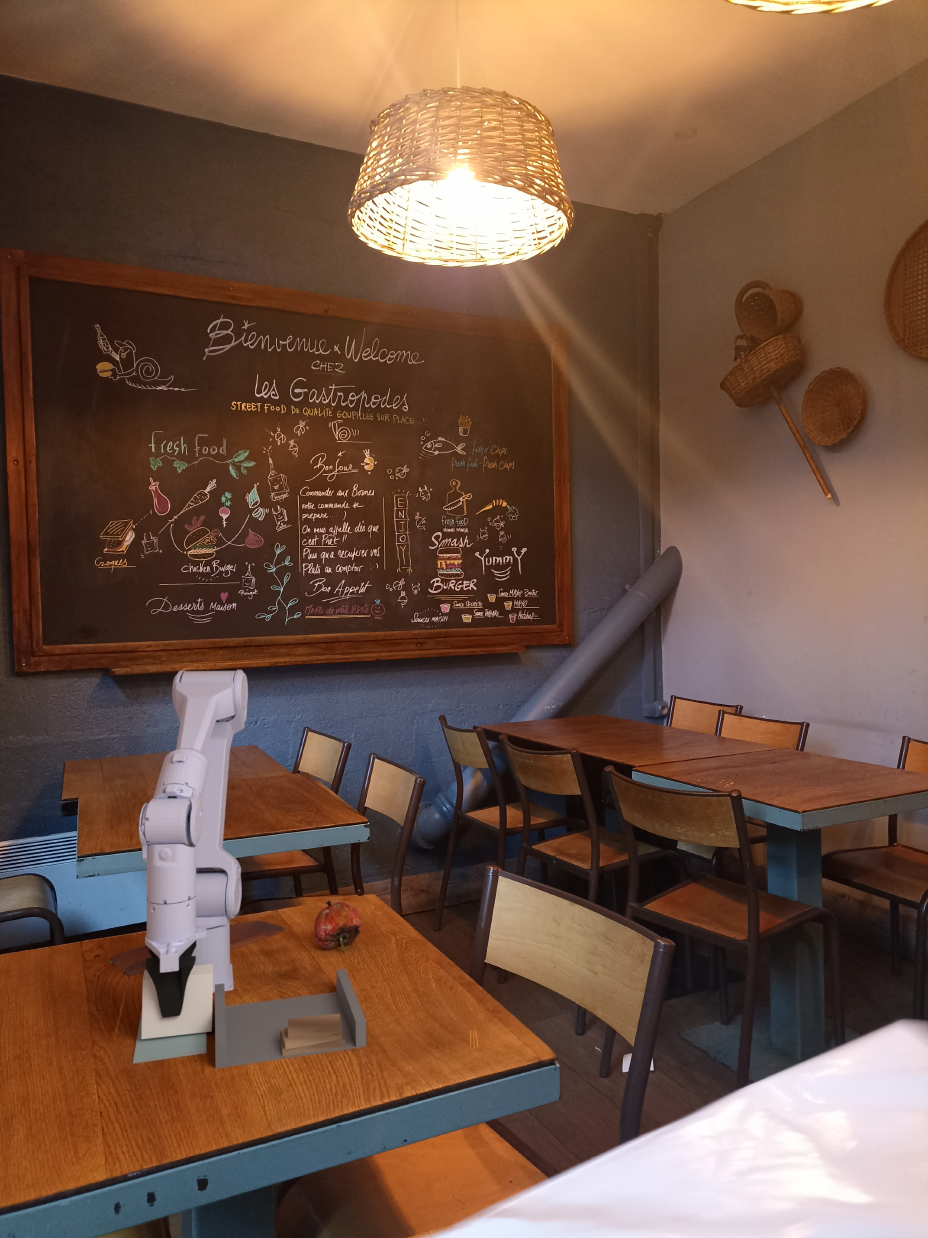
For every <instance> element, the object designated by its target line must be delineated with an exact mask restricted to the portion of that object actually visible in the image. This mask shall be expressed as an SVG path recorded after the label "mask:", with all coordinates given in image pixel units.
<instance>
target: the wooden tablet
mask: <svg viewBox="0 0 928 1238" xmlns="http://www.w3.org/2000/svg"><path fill="white" fill-rule="evenodd" d="M285 930H286V928H285V927H284V926H282V925H278V924H275V923H270V922H268V921H266V920H249V921H244V922H238V923H234V924H230V951H231V950H235V949H236V948H240V947H243V946H246V945H249V944H252V943H255V942H257V941H261V940H263V939H265V938H270V937H272V936H274V935H277V934H279V933H281V932H283V931H285ZM148 950H149V947H148V946H147V945H146V944H145V945H141V946H139V947H136V948H133V949H129V950H125V951H123V952H120V953H117V954H115V955H112V956H111V957H110V959H109V963H110V964H111V965H113V966H116V967H118V968H119V967H121V968H123V969H122V972H123V973H124V974H125V975H126V976H128V977H131V976H138V975H144V971H145V970H146V959H147V958H152V957H151V955H150V953H149V951H148Z"/></svg>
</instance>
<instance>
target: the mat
mask: <svg viewBox="0 0 928 1238" xmlns="http://www.w3.org/2000/svg"><path fill="white" fill-rule="evenodd" d="M138 1025H139V1026H138V1030H137V1031H138V1032H137V1035H136V1042H135V1048H134V1053H133V1058H132V1064H139V1063H140V1064H141V1063H145V1062H152V1061H160V1060H168V1059H175V1058H180V1057H181V1058H182V1057H188V1056H196V1055H201V1054H207V1039H208V1037H207V1036H208V1035H207V1033H208V1032H202V1033H193V1034H184V1035H175V1036H166V1037H157V1038H148V1039H141V1037H142V1015H141V1016H140V1019H139V1024H138Z"/></svg>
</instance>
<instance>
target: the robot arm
mask: <svg viewBox="0 0 928 1238" xmlns="http://www.w3.org/2000/svg"><path fill="white" fill-rule="evenodd" d="M248 686H249V685H248V678H247V675H246V673H245V672H244V671H243V670H242V669H237V670H206V671H204V670H203V671H202V670H200V671H199V670H197V671H196V670H193V671H192V670H190V671H186V670H184V669H183V670H179V671H177V674H176V675H175V676H174V678H173V681H172V688H171V689H172V690H171V691H172V692H171V695H172V696H171V697H172V704H173V708H174V709H175V711H176V715H177V717H178V720H179V727H178V735H177V741H176V747H175V749H174V750H172V751H170V752H169V753H167V755H165V757H164V759H163V763H162V765H161V770H160V773H159V777H158V781H157V783H156V787H155V790H154V794H153V797H152V798H151V799H150V800H149V802H144V804H143V805H142V808H141V811H140V814H139V822H138V835H139V841H140V844H141V852H142V853H141V854H142V861H143V862H144V863H146V934H145V935H144V936H145V937H144V943H145V946H146V945H147V946H148V947H149V950H148V951H149V953H150V955H151V957H152V958H147V959H146V970H147V972H148V974H149V975H150V977H151V979H152V981H153V983H154V986H155V989H156V992H157V997H158V1002H159V1007H160V1012H161V1015H162V1018H167V1017H174V1016H180V1015H181V1011H182V1007H183V1002H184V995H185V989H186V984H187V981H188V978H189V975H190V973H191V971H192V969H193V967H194V966H198V965H209V964H213V994H215V984H223V983H224V989H225V992H229V991H232V990H234V988H235V987H234V977H233V975H234V974H233V964H232V963H231V956H230V955H231V950H230V925H231V924H230V923H231V922H230V920H231V919H234V918H235V917H236V916H237V915H238V914H239V912H240V907H241V902H242V892H243V891H242V890H243V889H242V876H241V875H242V874H241V873H242V867H241V865H240V863H239V860H238V859H236V857H234V856H233V855H232V854H231V853H229V852H228V851H226V850H225V849H224V847H223V846H224V835H225V833H224V832H225V819H226V807H227V806H226V805H227V793H228V779H229V768H230V767H229V765H230V753H231V752H230V751H231V748H232V743H233V737H234V735H235V734H237V733H239V732H240V731H242V730H244V728H245V723H246V722H247V716H248V715H247V714H248V702H249V701H248V700H249V691H248V690H249V687H248ZM206 871H207V872H206ZM208 871H209V872H208ZM210 871H211V872H210ZM212 871H213V872H212ZM214 871H219V872H214ZM220 871H225V872H220ZM198 872H199V873H198Z"/></svg>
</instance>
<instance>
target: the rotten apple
mask: <svg viewBox="0 0 928 1238" xmlns="http://www.w3.org/2000/svg"><path fill="white" fill-rule="evenodd" d="M325 904H326V905H327V906H325V907H324V908H322V909H321V910H320V911H319V912H318V913H317V916H316V917H315V920H314V927H313V929H314V938H315V941H316V943H317V944H318V945H320V946H321V947H322V948H323V949H324V950H332V949H335V948H338V946H339V947H341V948H342V951H343V953H344V954H346V951H345V950H346V949H345V948H346V946H348V945H350V944H352V943H354V942H355V940H356V938H357V937H359V934H360V933H361V932H362V930H363V929H362V928H363V920H362V919H363V918H362V915H361V914H360V913H359V912H358V910H356V909H357V908H355V907H353V906H351V905H349V904H348V903H346V902H343V901H341V902H340V901H338V902H335V903H332V901H331V900H327V902H325Z"/></svg>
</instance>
